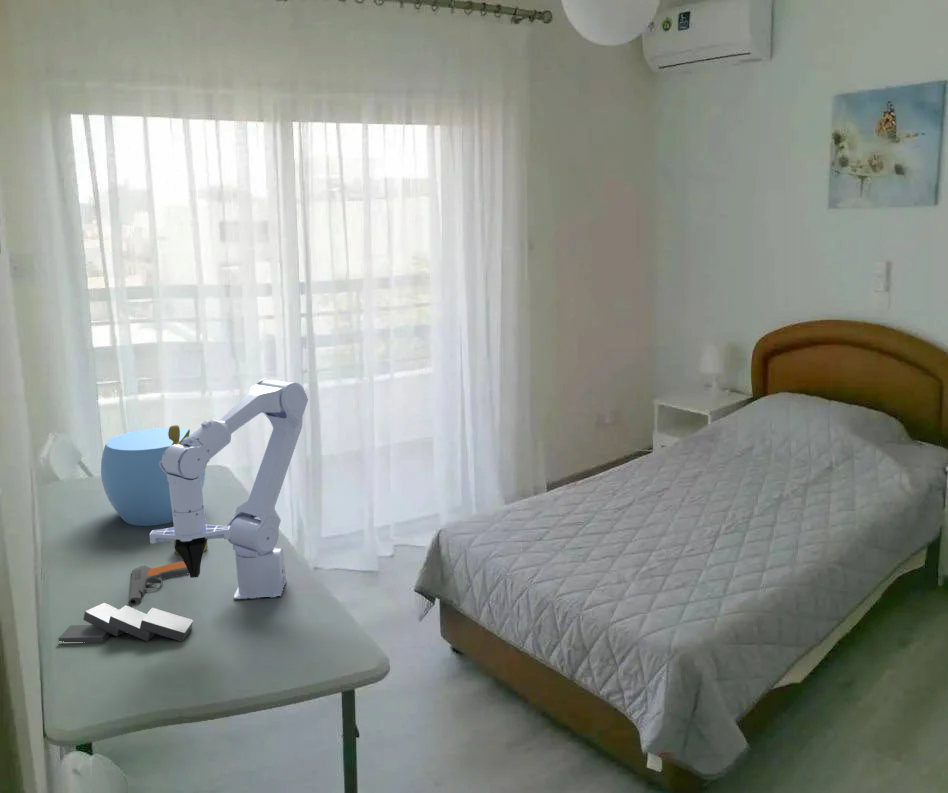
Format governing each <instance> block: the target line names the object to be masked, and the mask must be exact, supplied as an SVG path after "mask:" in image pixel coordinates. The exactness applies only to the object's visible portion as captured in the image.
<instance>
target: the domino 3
mask: <svg viewBox="0 0 948 793" xmlns="http://www.w3.org/2000/svg"><path fill="white" fill-rule="evenodd" d="M145 614H146V616H145V617H144V618H143V619H142V621H141V625H140V629H142V630H145V631H149V632H152V633H155V635H159V636H163V637H165V638H168V639H173V640H176V641H179V642H183V641H184V640H185V638H186V637H187V636H188V634H189V632H190V631H191V630H192V628H193V624H194V619H191V618H188V617H184V616H180V615H177V614H174V613H171V612H168V611H166V610H165V611H164V610H161V609H158V608H155V607H151V609H150V610H149V611H148V612H147V613H145Z"/></svg>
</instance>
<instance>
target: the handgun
mask: <svg viewBox="0 0 948 793" xmlns="http://www.w3.org/2000/svg"><path fill="white" fill-rule="evenodd" d="M187 573H188V574H189V572H188V569H187V567H186V565H185V563H184V561H183V560H182V561H177V562H173V563H168V564H164V565H161V566H157V567H148V565H141V566H138V567H136V568H133V569H132V572H130V577H131V578H130V585H129V595H128V602H127V603H128V604H129V605H132V604H133V603H134V605H135V604H141V603H142V598H143V597H144V595H145V593H146V592H148V591H155V590H158V589H160V588H161V587H162V585H163V583H164V582H163V578H164V579H167V578H168V577H169V578H173V576H174V577H177V576H176V575H179V576H183V575H182V574H185V575H188V574H187ZM151 582H153V583H151ZM157 582H160V585H159V586H158V585H157V584H155V583H157ZM152 586H154V587H155V588H147V587H152Z"/></svg>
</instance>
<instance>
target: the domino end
mask: <svg viewBox="0 0 948 793" xmlns="http://www.w3.org/2000/svg"><path fill="white" fill-rule="evenodd" d="M110 635H112V634H111V633H109V632H107V631H105V630H103V629H101V628H99V627H97V626H95V625H93V624H79V625H77V624H74V625H73V624H72V625H71V624H70V625H69V626H68V627H67V628H66V630H65V631H64V632H63V633H61V635H60V636H59V637H58V638H57V639H58V642H59V641H62V642H63V641H64V642H83V643H82V644H104V643H105V641H106V640H107V639H108V638H109V636H110ZM84 642H85V643H84Z"/></svg>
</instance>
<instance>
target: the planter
mask: <svg viewBox="0 0 948 793" xmlns="http://www.w3.org/2000/svg"><path fill="white" fill-rule="evenodd" d="M169 428H170V427H156V428H146V429H139V430H134V431H129V432H124V433H121V434H119V435H116V436H113V437H111V438H109V439H108V440H107V441H106V442H105V445H104V448H103V451H102V456H101V461H100V462H101V463H100V474H101V475H100V476H101V483H102V487H103V490H104V492H105V495H106V497H107V499H108V501H109V503H110V504H111V506H112V507H113V509H114V510H115V511H116V513H117V514H118V515H119V516H120V518H121V519H122V520H123V521H124V522H125V523H126V524H128V525H132V526H140V527H141V526H142V527H144V526H145V527H147V526H148V527H151V526H160V525H166V524H170V523H173V515H172V507H171V497H170V488H169V481H167V475H166V473H165V472H163V471H162V469H161V467H160V464H159V462H161V461H162V456H163V453H164V452H165V450H166V449H167V448H168V447H170V446H171V445H172V443H173V441H172V440H170V439H169V436H168V432H169ZM179 428H180V427H179ZM188 430H189V429H186V428H180V438H179V442H180V441H181V440H182V438H183V437H184V436H185V434H186V433H187V432H188ZM194 432H195V431H192V430H190V434H189V436H190V435H192V434H193V433H194ZM205 480H206V470H205V471H204V472H203V474H202V475H201V481H202V490H203V488H204V486H205V485H204V484H205Z"/></svg>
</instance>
